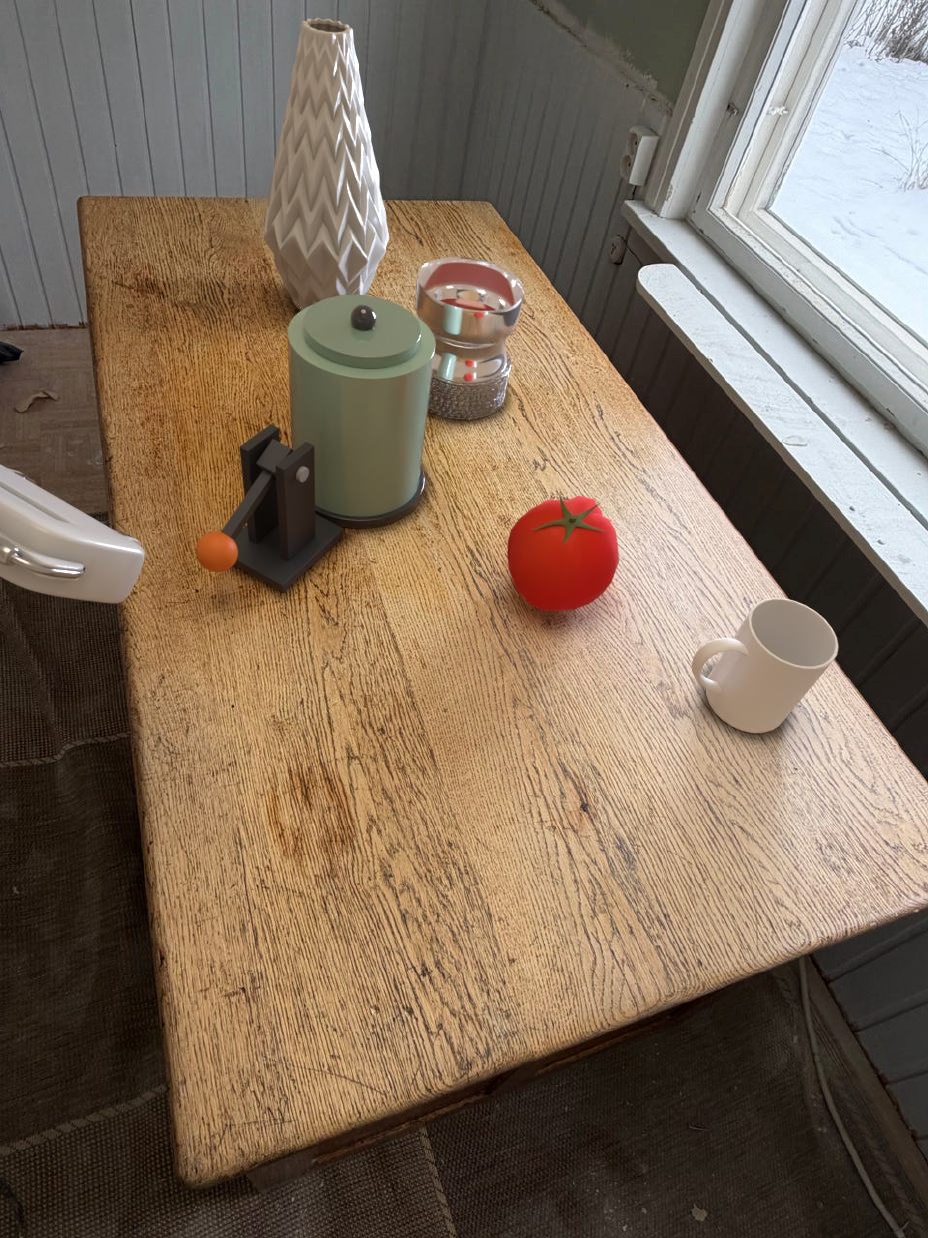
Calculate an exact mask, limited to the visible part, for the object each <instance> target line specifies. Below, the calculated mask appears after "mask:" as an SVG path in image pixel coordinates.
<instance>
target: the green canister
mask: <svg viewBox="0 0 928 1238" xmlns="http://www.w3.org/2000/svg"><path fill="white" fill-rule="evenodd" d="M286 334H287V335H286V336H287V359H288V360H287V361H288V385H289V386H288V387H289V409H290V410H289V413H290V439H291V448H292V450H293V451H295V450H296V449H297V448H298V447H300V446H301V445H302V444H304V443H305V442H308V443H310V444H312V445H314V451H315V514H317V515H318V516H320V517H322V518H324V519H326V520H328V521H330V522H332V523H334V524H336V525H337V526H339V527H341V528H347V529H373V528H379V527H383V526H388V525H391V524H393V523H397V522H398V521H400V520H402V519H404V518H405V517H407V516H409V514H410V513H412V512H413V511H414V510H415V509H416V508H417V507H418V505H419V504H420V502H421V500H422V497H423V494H424V489H425V482H426V481H425V473H424V469H423V467H422V461H423V453H424V445H425V437H426V428H427V421H428V414H429V412H428V405H429V397H430V388H431V380H432V372H433V364H434V355H435V347H436V344H435V338H434V335H433V333H432V332H431V330H430V329H429V327H428V326H427V325H426V324H425V323H424V322H423V321H422V320H421V319H419V318H418V315H415V314H413V313H412V312H411V311H410V310H408V309H407V308H406V307H404V306H402V305H400V304H398V303H396V302H394V301H391V300H388V299H385V298H381V297H378V296H373V295H367V294H365V295H340V296H334V297H330V298H326V299H324V300H321V301H319V302H317V303H315V304H314V305H311V306H309V307H307V308H305V309H303V310H302V311H300V310H299V311H298V313H296V314H295V315H294V316H293V318H292V319H291V320H290V322H289V325H288V327H287V333H286Z"/></svg>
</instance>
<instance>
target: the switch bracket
mask: <svg viewBox="0 0 928 1238" xmlns="http://www.w3.org/2000/svg"><path fill="white" fill-rule="evenodd" d="M280 433H281V431H280V427H279V426H276V425H274V424H273V423H270V424H269V425H267V426H266V427H265V428H263V429H262V430H261V431H259V432H257V433H256V434H255V435H253V436H252V437H251V438H249V439H248V440H246V441H245V442H244V443H242V444H241V445H239V457H240V468H241V478H242V486H243V498H244V497H245V496H246V494H247V493H248V491H249V490H250V488H251V487H252V486H253V484H254V483H255V481H256V480H257V478H258V477H259V475H260V474H261V472H262V470H261V469H260V468H259V466H258V465H257V464H256V462H257V461H258V460H259V458H260V457H261V455H262V454H263V452H264V451H265V449H266V448H267V446H268V445H269V443H270V442H271V441H272V439H274V440H276V441H278V442H280V443H281V434H280ZM275 467H276V480H275V481H274V483H273V484H272V486H271V487H270V489H269V490H268V492H267V493H266V495H265V496H264V498H263V499H262V501H261V502H260V504H259V505H258V507H257V508H256V509H255V511H254V512H253V514H252V515H251V517H250V518H249V520H248V521H247V523H246V525H245V526H244V527H243V529H242V530H241V532H240V533H239V535H238V536H237V538H236V539H235V543H236V545H237V548H238V556H237V560H236V562H235V563H234V565H233V567H236V568H237V569H239V570H241V571H243V572H245V573H247V574H249V575H250V576H252V577H253V578H256V579H257V580H259V581H261V582H262V583H264V584H265V585H268V586H269V587H271V588H273V589H275V590H277V591H279V592H280V593H285V592H286V591H288V589H289V588H291V586H293V585H294V584H295V582H297V581H298V580H299V579H300V578H301V577H302V576H303V575H304V574H305V573H306V572H307V571H309V570H310V569H311V567H313V566H314V565H315V564H316V563H317V562H318V561H319V560H321V558H322V557H323V556H324V555H325V554H326V553H328V552H329V551H330V550H331V549H332V548H333V547H334V546H336V544H337V543H338V542H340V540H342V538H344V527H340V526H337V525H336V524H334V523H332V522H330V521H328V520H326V519H324V518H322V517H320V516H318V515H317V514H315V451H314V445H312V444H310V443H308V442H305V443H304V444H302V445H301V446H300V447H298V448H297V449H296V450H295V451H293V452H292V453H291V454H289V455H288V456H287V457H286V458H284V459H283V460H282V461H280V462H279V463H278V464H276V466H275Z"/></svg>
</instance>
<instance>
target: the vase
mask: <svg viewBox="0 0 928 1238" xmlns="http://www.w3.org/2000/svg"><path fill="white" fill-rule="evenodd" d="M300 29H301V30H300V34H299V36H298V42H297V46H296V52H295V61H294V63H293V66H292V70H291V77H290V87H289V96H288V99H287V104H286V108H285V112H284V116H283V120H282V127H281V130H280V134H279V141H278V144H277V145H278V146H277V151H276V155H275V157H274V164H273V173H272V177H271V182H270V187H269V191H268V195H267V202H266V210H265V214H264V219H263V227H264V231H263V241H264V242H265V243H266V245H267V246H268V248H269V249H270V251H271V252H272V254H273V260H274V265H275V268H276V270H277V273H278V274H279V276H280V278H281V280H282V283H283V284H284V286H285V288H286V290H287V291H288V294H289V295H290V298H291V300H292V303H293V304H294V306H295V307H296V308H297V309H298V310H299V312H300V311H302V310H303V309H305V308H307V307H309V306H311V305H314V304H315V303H317V302H319V301H321V300H324V299H326V298H330V297H334V296H340V295H367V294H368V293H369V291H370V288H371V286H372V283H373V282H374V279H375V277H376V272H377V269H378V267H379V263H380V262H381V261H382V260H383V258H384V256H385V255H386V251H387V245H388V244H389V241H390V234H389V233H390V232H389V228H388V227H389V226H388V224H387V212H386V207H385V204H384V201H383V197H382V193H381V189H380V171H379V168H378V165H377V161H376V157H375V152H374V148H373V144H372V132H371V128H370V125H369V121H368V117H367V113H366V109H365V98H364V95H363V94H364V93H363V86H362V79H361V75H360V69H359V68H360V65H359V61H358V57H357V53H356V49H355V41H354V29H353V28H352V27H350V25H349V24H347V23H342V22H341V21H340V20H337V21H336V20H335V21H333V20H332V19H330V18H326V19H322V18H320V17H316V18H315V19H313V18H307V19H306V20H302V22H301V28H300ZM294 301H295V302H297V303H298V304H299V305H298V304H297V303H295V302H294ZM300 307H301V308H300ZM302 308H303V309H302Z"/></svg>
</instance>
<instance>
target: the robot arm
mask: <svg viewBox="0 0 928 1238" xmlns="http://www.w3.org/2000/svg"><path fill="white" fill-rule="evenodd" d="M141 543H142V542H141V541H140V539H137V538H135V537H133V536H132V535H130V534H128V533H127V532H124V531H122V530H116V529H112V528H111V527H109V526H107V525H106V524H104V523H103V522H101V521H99V520H97V519H95V518H94V517H93V516H90V515H88V514H86V513H85V512H84V511H82V510H80V509H78V508H77V507H74V505H71V504H70V503H68V502H66V501H65V500H63V499H61V498H59V497H58V496H56V495H54V494H52V493H50V492H49V491H47V490H46V489H44V488H42V487H41V486H38V485H37V481H35V480H34V479H33V478H31V477H29V476H28V475H26V474H25V473H23V472H21V471H20V470H15V469H11V468H8V467H6V466H4V465H2V464H1V463H0V577H1V578H2V579H4V580H5V581H7V582H10V583H12V584H14V585H16V586H18V587H20V588H24V589H26V590H28V591H31V592H35V593H38V594H44V595H49V596H53V597H58V598H64V599H65V598H66V599H73V600H78V601H86V602H95V603H103V604H120V603H122V602H124V601H125V600H126V599H127V598H128V597H129V595H130V593H131V592H132V590H133V589H134V588H135V587H134V586H135V585H136V583H137V580H138V578H139V576H140V573H141V571H142V569H143V565H144V562H145V556H146V552H145V549H144V547H143V546H142V544H141Z"/></svg>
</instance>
